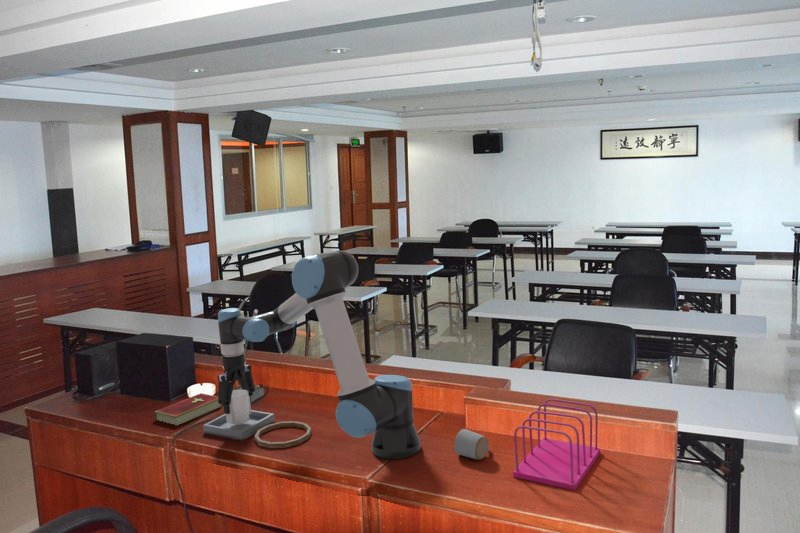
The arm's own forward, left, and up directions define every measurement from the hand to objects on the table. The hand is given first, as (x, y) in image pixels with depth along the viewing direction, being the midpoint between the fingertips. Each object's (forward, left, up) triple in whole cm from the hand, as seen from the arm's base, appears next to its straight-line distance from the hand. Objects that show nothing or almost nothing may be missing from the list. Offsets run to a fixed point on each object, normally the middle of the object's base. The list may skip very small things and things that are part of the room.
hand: (239, 417), depth 227 cm
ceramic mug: (-28, -79, -4) cm, 83 cm away
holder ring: (-9, -17, -4) cm, 19 cm away
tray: (0, 0, -4) cm, 4 cm away
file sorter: (-37, -102, -4) cm, 108 cm away
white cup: (0, 0, -1) cm, 1 cm away
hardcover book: (+16, +23, -4) cm, 29 cm away
